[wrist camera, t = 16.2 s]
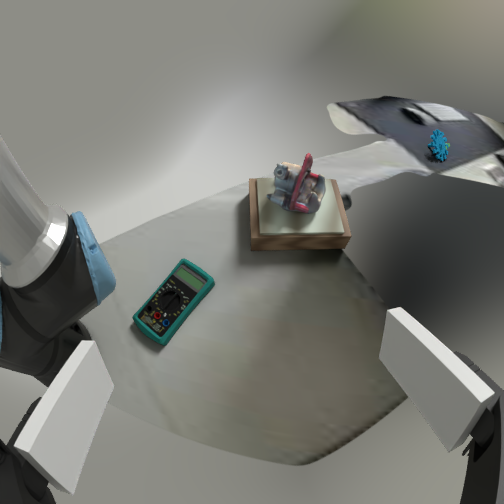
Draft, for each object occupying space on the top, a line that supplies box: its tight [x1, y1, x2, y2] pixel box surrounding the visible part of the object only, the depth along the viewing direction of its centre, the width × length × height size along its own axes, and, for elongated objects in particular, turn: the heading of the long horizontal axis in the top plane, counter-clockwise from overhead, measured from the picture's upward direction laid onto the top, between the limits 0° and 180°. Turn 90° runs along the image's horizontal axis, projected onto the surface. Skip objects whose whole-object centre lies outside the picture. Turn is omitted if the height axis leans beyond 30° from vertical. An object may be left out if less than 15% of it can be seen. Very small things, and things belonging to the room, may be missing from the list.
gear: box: [428, 130, 450, 161], centre depth 68 cm, size 11×6×10 cm
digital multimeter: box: [133, 259, 215, 346], centre depth 45 cm, size 7×15×3 cm, turn 145°
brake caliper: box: [267, 153, 326, 214], centre depth 48 cm, size 11×11×12 cm
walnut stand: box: [249, 178, 351, 251], centre depth 52 cm, size 18×14×5 cm
